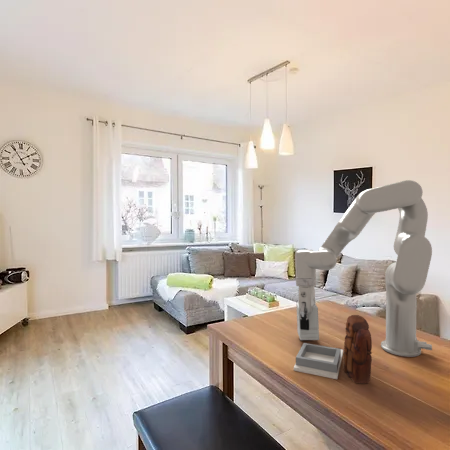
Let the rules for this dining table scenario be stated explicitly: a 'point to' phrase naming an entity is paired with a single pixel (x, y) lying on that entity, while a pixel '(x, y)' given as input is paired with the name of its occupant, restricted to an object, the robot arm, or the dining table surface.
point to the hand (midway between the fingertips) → (307, 325)
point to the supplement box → (313, 325)
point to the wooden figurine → (357, 349)
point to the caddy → (319, 360)
